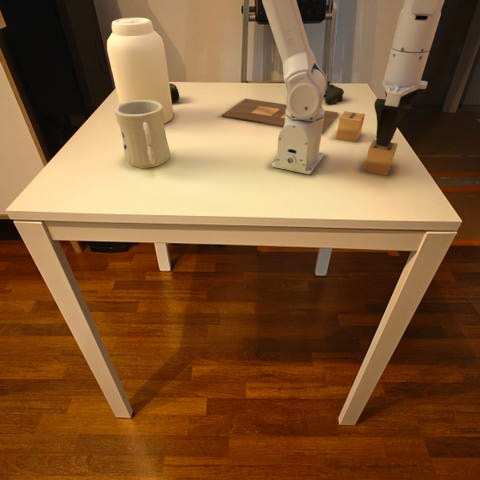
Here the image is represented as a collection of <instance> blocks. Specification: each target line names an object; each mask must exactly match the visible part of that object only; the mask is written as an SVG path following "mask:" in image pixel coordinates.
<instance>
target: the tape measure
mask: <svg viewBox="0 0 480 480" xmlns="http://www.w3.org/2000/svg"><path fill="white" fill-rule="evenodd" d="M169 85H170V93H171V101H172V102H178V101H180V98H181V97H180V92H179V89H178V88H177V85H176V84H174V83H171V82H169Z"/></svg>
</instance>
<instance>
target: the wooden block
mask: <svg viewBox="0 0 480 480" xmlns="http://www.w3.org/2000/svg"><path fill="white" fill-rule="evenodd" d="M397 148H398V142H393V141H391V142H390V144H389V145H388V146H384V145H378V144H376V138H375V139H373V140H372V142H371V144H370V145H369V147H368V151H367V155H366V157H365V162H364V166H363V169H362V170H363V172H366V173H373V174H376V175H382V176H388V175H389V172H390V169H391V167H392V164H393V162H394V161H393V160H394V158H395V154H396V151H397Z"/></svg>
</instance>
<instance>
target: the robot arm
mask: <svg viewBox="0 0 480 480" xmlns="http://www.w3.org/2000/svg"><path fill="white" fill-rule="evenodd" d="M445 1H446V0H404V2H403V5H402V9H401V10H400V12H399V15H398V20H397V22H396V23H397V24H396V27H395V32H394V36H393V40H392V44H391V48H390V52H389V57H388V59H387V60H388V61H387V66H386V69H385V73H384V77H383V78H382V81H381V86H382V88H383V90H384V92H385V98H376V99H375V101H374V104H373V106H374V107H373V108H374V111H375V115H376V135H375V140H376V144H378V145H384V146H388V145H389V144H390V142H392V140H393V138H394V136H395V135H396V134H395V133H396V131H397V129H398V127H399V125H400V123H401V122H402V120H403V118H404V117H405V116H406V115H407V114H408V113H409V111H410V110H411V109H412V104H410V103H411V102H412V100H413V99H414V97H416V95H417V94H418V92H419V89H420V90H426V89H427V87H428V81H426V80H422V77H423V75H424V71H425V67H426V64H427V60H428V57H429V54H430V52H431V48H432V46H433V41H434V38H435V35H436V32H437V28H438V26H439V22H440V18H441V15H442V8H443V5H444V3H445ZM261 2H262V6H263V9H264V12H265V15H266V18H267V20H268V23H269V27H270V30H271V33H272V35H273V39H274V41H275V44H276V48H277V51H278V54H279V56H280V59H281V63H282V74H283V82H284V84H285V88H286V96H285V105H287V109H286V114H285V124H284V127H281V130H280V131H279V133H278V137H277V153H276V159H275V160H274V161H273V162H272V164H271V167H272V168H277V169H280V170H281V169H282V170H287V171H292V172H295V173H300V174H305V175H310V174H312V173H313V171H314V169H315V168H316V167H317V166H318V164H319V163H320V162H321V160H322V159H323V158H324V157H325V153H324V152H320V147H321V141H322V134H323V132H322V128H323V121H324V114H325V111H326V110H325V109H324V107H323V102H324V96H325V95H326V94H325V93H326V90H327V81H328V78H327V75H326V74H325V72H324V71H323V69H321V68H320V66H319V65H318V62H317V59H316V57H315V54H314V52H313V50H312V49H311V47H310V43H309V39H308V36H307V32H306V29H305V26H304V22H303V20H302V19H303V18H302V15H301V12H300V8H299V5H298V2H297V0H261ZM324 110H325V111H324Z"/></svg>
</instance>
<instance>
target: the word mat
mask: <svg viewBox="0 0 480 480" xmlns="http://www.w3.org/2000/svg"><path fill="white" fill-rule="evenodd" d="M286 109H287V105H286V103H278V102H273V101H272V102H271V101H266V100H265V101H264V100H258V99H251V98H244V99H243V100H241V101H240V102H238V103H237V104H235V105H234V106H233V107H231V108H229V109H228V110H226V111H225V112H224V113H222V115H221V117H222V118H226V119H233V120H238V121H242V122H243V121H244V122H250V123H257V124H262V125H268V126H274V127H279V128H283V127H284V124H285V114H286ZM324 111H325V114H324V121H323V128H322V133H324V131H325V130H326V129H327V128H328V127H329V126H330V125H331V124H332V122H333V121H334V119H335V118H336V117H337V116H338V113H339V112H337V111H331V110H325V109H324Z"/></svg>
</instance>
